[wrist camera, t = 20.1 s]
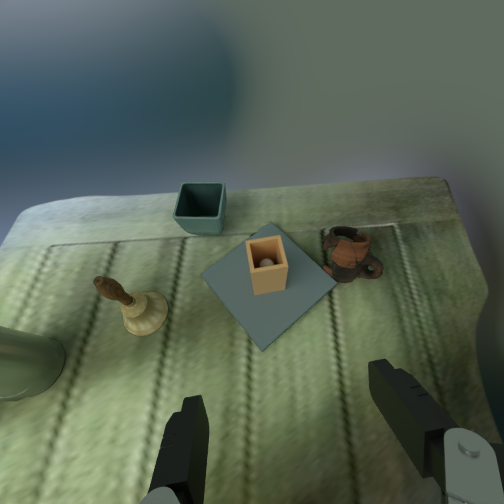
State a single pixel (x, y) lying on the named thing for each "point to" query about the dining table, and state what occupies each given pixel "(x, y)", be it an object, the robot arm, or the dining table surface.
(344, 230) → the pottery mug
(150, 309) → the hand bell
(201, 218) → the flower pot
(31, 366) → the robot arm
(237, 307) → the post board
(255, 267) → the collar
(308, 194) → the dining table surface
